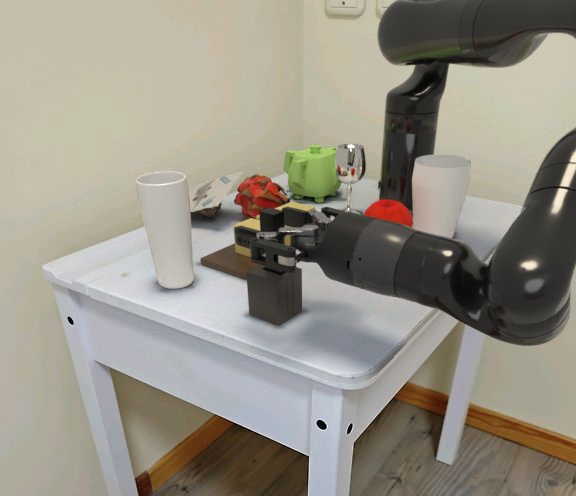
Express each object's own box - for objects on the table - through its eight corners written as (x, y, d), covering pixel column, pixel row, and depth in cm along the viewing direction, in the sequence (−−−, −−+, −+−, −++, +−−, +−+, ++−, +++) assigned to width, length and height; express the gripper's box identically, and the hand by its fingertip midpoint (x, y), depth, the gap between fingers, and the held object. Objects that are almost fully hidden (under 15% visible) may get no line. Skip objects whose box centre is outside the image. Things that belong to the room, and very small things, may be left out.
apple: (419, 244, 92) (424, 199, 88) (391, 259, 88) (395, 212, 83) (379, 233, 97) (382, 190, 92) (350, 247, 92) (352, 201, 88)
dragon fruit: (242, 218, 109) (287, 242, 103) (215, 202, 102) (261, 226, 96) (263, 178, 107) (309, 199, 101) (236, 158, 100) (285, 180, 94)
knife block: (273, 300, 77) (272, 259, 74) (302, 310, 74) (302, 268, 71) (249, 314, 74) (246, 272, 70) (278, 325, 71) (276, 282, 68)
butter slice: (252, 245, 91) (250, 217, 89) (275, 252, 89) (274, 224, 86) (235, 252, 89) (233, 224, 86) (258, 260, 86) (257, 231, 83)
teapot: (293, 206, 110) (292, 154, 104) (281, 190, 119) (280, 141, 113) (351, 201, 112) (353, 149, 106) (335, 185, 121) (336, 137, 115)
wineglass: (362, 220, 103) (365, 150, 96) (330, 218, 104) (332, 150, 97) (364, 210, 107) (368, 143, 100) (334, 208, 108) (336, 142, 101)
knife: (272, 307, 75) (268, 207, 68) (287, 312, 74) (284, 211, 66) (264, 312, 74) (258, 211, 66) (278, 318, 73) (275, 215, 65)
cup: (462, 228, 98) (474, 155, 91) (458, 246, 91) (470, 170, 84) (410, 223, 101) (418, 152, 94) (402, 241, 94) (409, 166, 87)
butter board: (282, 227, 100) (282, 222, 100) (332, 241, 94) (332, 235, 94) (200, 264, 88) (200, 258, 87) (252, 282, 82) (252, 275, 81)
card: (197, 208, 114) (183, 186, 111) (256, 192, 106) (243, 168, 103) (170, 242, 108) (155, 220, 105) (231, 228, 99) (216, 204, 96)
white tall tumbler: (178, 296, 79) (162, 187, 70) (143, 286, 82) (123, 180, 73) (209, 278, 83) (197, 174, 75) (174, 269, 86) (159, 168, 78)
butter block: (292, 227, 98) (291, 201, 95) (315, 233, 95) (315, 206, 92) (257, 242, 92) (255, 215, 89) (280, 249, 89) (279, 222, 87)
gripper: (411, 202, 62) (296, 179, 71) (336, 241, 53) (215, 209, 62) (404, 266, 66) (297, 237, 75) (334, 311, 58) (222, 272, 66)
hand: (260, 224), depth 68 cm, fingers open, 8 cm apart
